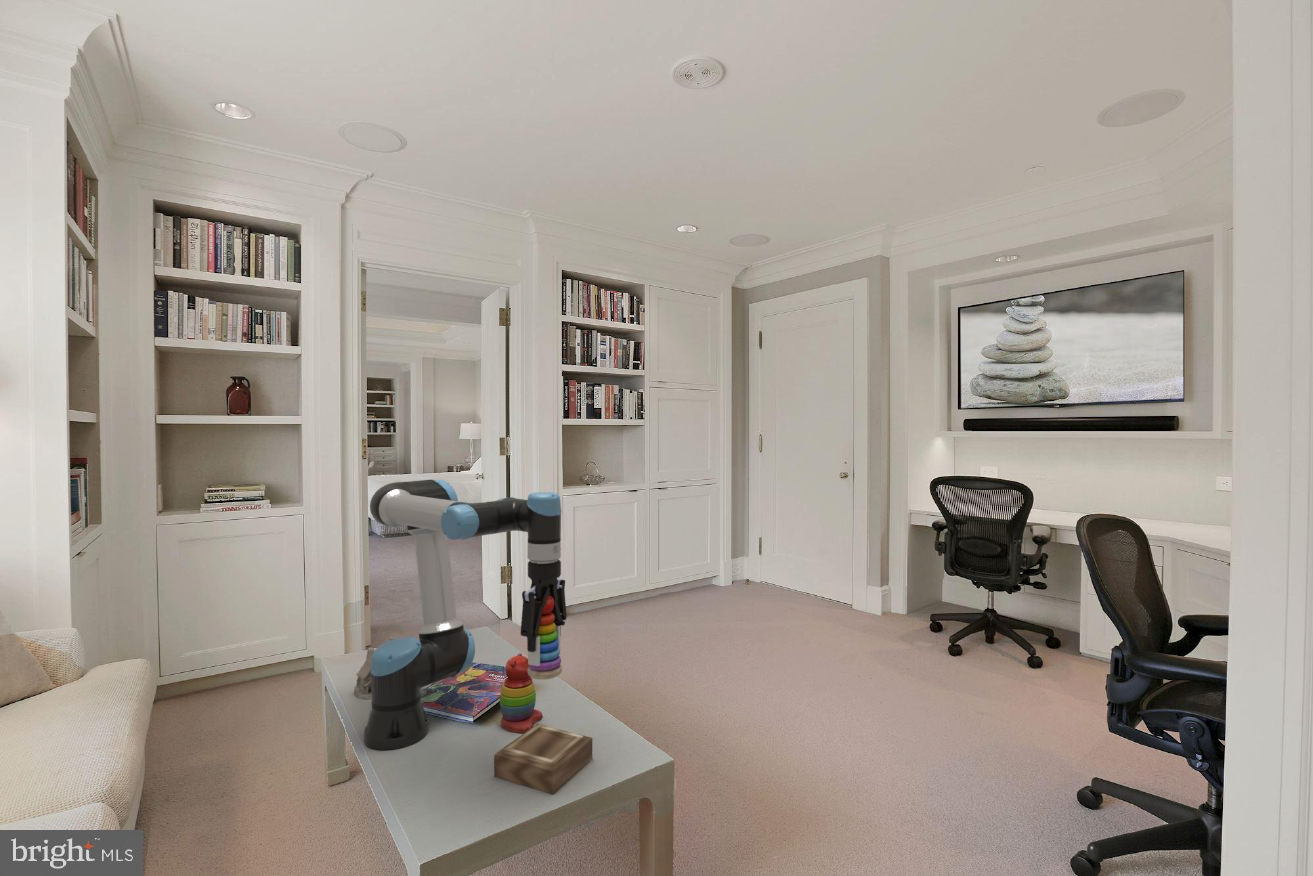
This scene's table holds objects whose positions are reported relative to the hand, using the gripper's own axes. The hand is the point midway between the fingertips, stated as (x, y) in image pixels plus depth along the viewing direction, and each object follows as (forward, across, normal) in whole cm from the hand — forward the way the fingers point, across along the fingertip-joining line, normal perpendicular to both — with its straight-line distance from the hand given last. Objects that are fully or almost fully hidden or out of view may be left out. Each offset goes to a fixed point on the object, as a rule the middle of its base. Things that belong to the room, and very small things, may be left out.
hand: (544, 658), depth 144 cm
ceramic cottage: (+26, +14, +68) cm, 73 cm away
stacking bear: (+26, +15, +19) cm, 35 cm away
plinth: (+25, 0, 0) cm, 25 cm away
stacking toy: (+4, 0, 0) cm, 4 cm away
